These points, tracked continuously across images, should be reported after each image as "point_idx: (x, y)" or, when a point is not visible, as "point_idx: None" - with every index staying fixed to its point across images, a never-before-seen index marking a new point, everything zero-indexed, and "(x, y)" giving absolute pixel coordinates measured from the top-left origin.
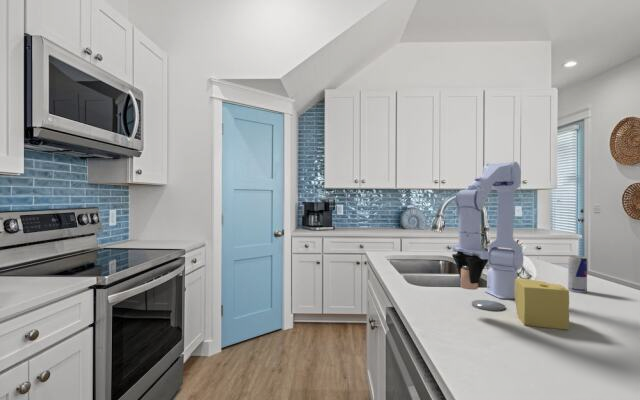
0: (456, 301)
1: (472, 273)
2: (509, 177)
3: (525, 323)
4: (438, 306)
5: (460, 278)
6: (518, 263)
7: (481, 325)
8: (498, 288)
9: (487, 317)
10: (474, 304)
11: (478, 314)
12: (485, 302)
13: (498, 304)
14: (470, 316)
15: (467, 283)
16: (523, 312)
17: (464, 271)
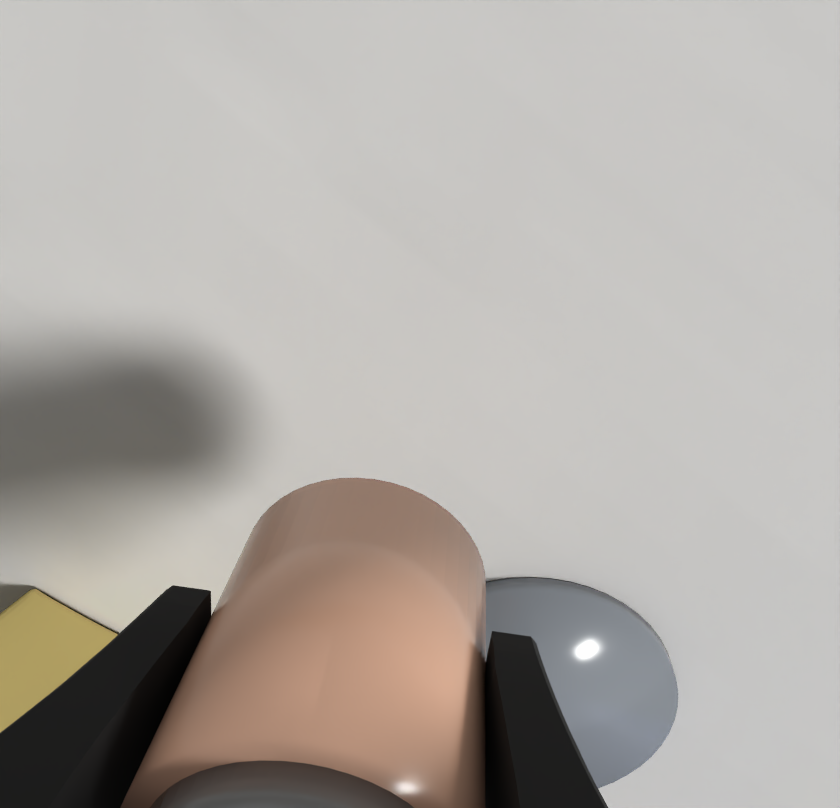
0: (786, 551)
1: (34, 721)
2: None
3: (20, 599)
4: (729, 243)
5: (523, 640)
6: None
7: (46, 263)
8: None
9: (252, 473)
10: (565, 600)
11: (346, 460)
12: (581, 718)
13: None
14: (307, 348)
15: (256, 557)
16: (6, 669)
17: (239, 708)
